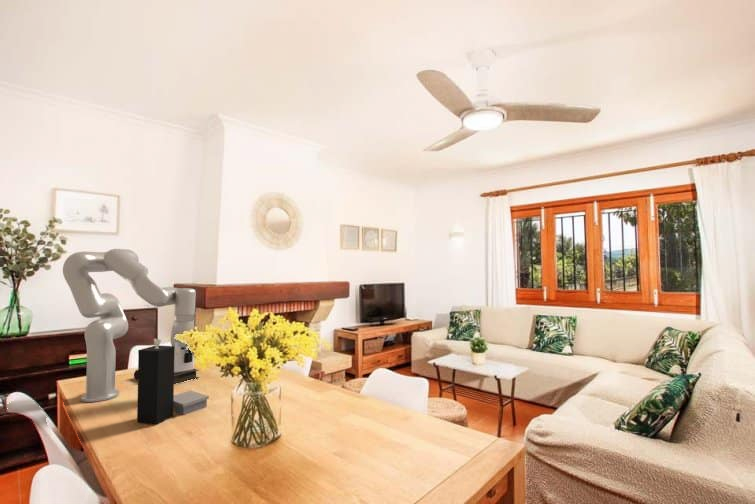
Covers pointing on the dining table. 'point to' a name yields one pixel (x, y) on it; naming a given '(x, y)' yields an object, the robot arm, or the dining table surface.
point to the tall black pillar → (155, 383)
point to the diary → (179, 375)
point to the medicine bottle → (181, 360)
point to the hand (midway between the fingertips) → (182, 360)
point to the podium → (189, 402)
